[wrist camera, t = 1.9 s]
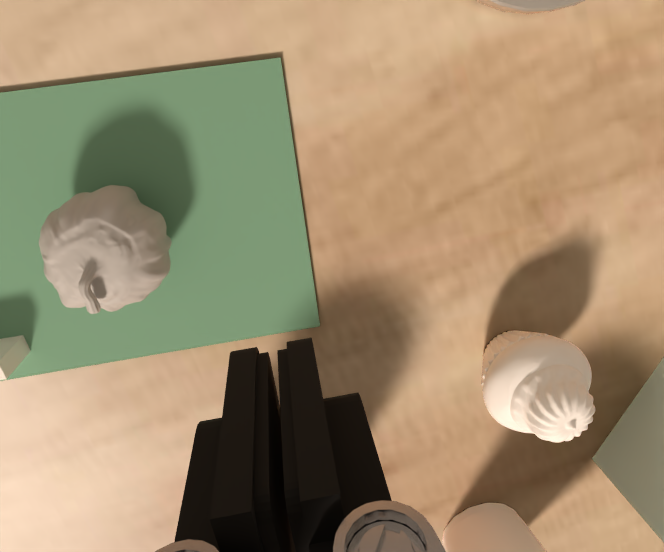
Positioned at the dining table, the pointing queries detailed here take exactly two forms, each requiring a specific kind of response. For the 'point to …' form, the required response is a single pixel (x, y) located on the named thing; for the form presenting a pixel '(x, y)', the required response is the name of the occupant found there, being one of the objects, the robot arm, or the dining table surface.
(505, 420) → the muffin
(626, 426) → the right angle wall
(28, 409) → the dining table surface
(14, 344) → the white u-shaped frame
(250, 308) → the felt mat
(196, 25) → the dining table surface
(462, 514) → the foam cup
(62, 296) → the garlic
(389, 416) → the dining table surface
